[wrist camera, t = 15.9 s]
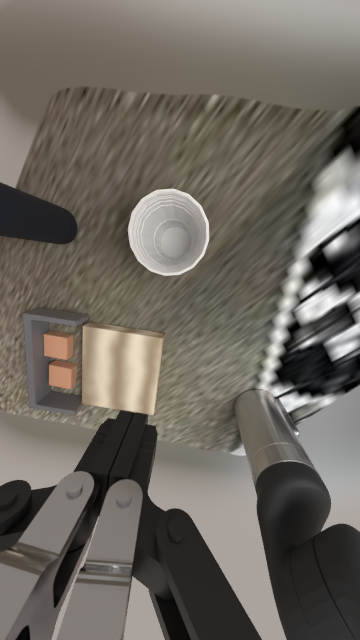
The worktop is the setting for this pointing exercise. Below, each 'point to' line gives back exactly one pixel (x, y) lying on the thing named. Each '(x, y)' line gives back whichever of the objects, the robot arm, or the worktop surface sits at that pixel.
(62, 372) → the terracotta tile
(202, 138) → the worktop surface
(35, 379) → the box
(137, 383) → the birch board
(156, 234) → the plastic cup
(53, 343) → the terracotta tile
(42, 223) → the wine bottle
